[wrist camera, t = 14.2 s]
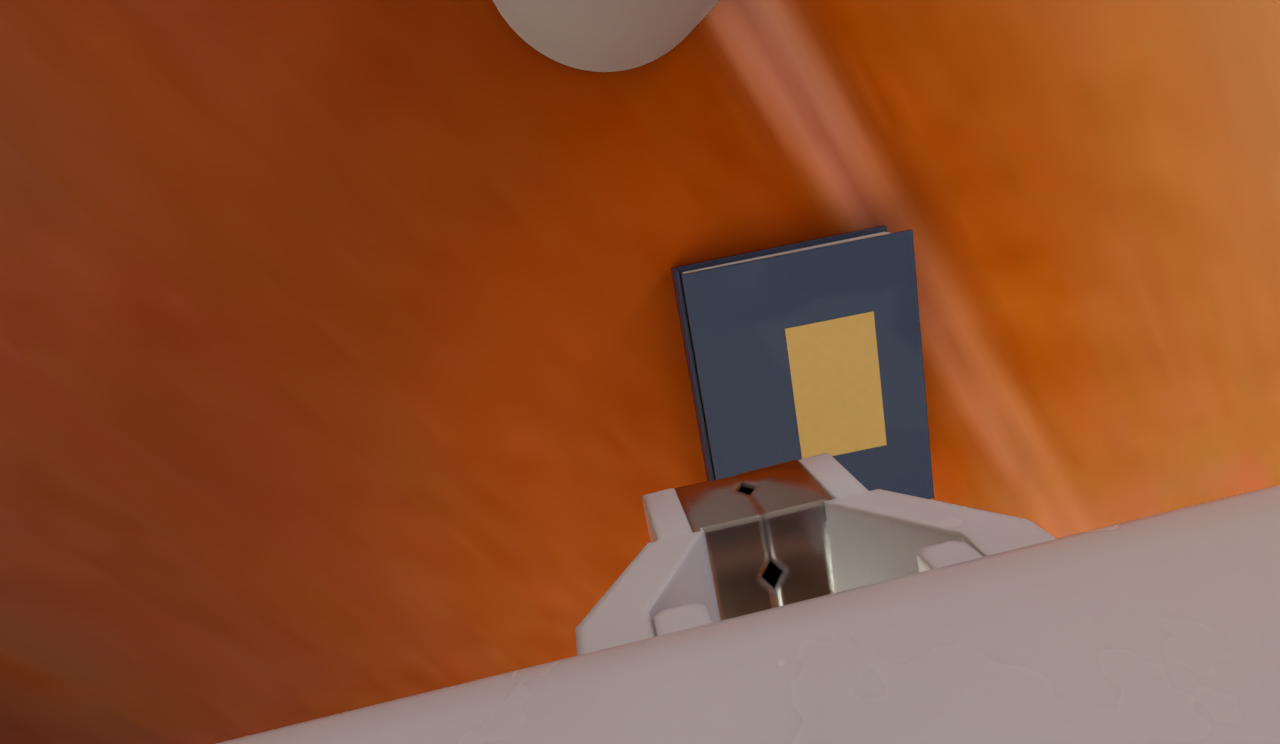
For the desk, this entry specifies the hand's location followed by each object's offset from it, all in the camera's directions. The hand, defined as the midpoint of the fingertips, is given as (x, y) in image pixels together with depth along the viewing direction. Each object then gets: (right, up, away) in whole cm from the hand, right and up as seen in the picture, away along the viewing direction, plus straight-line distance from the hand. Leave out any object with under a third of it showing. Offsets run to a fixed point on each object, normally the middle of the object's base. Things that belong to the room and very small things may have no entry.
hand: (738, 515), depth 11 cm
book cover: (+8, +1, +31) cm, 33 cm away
